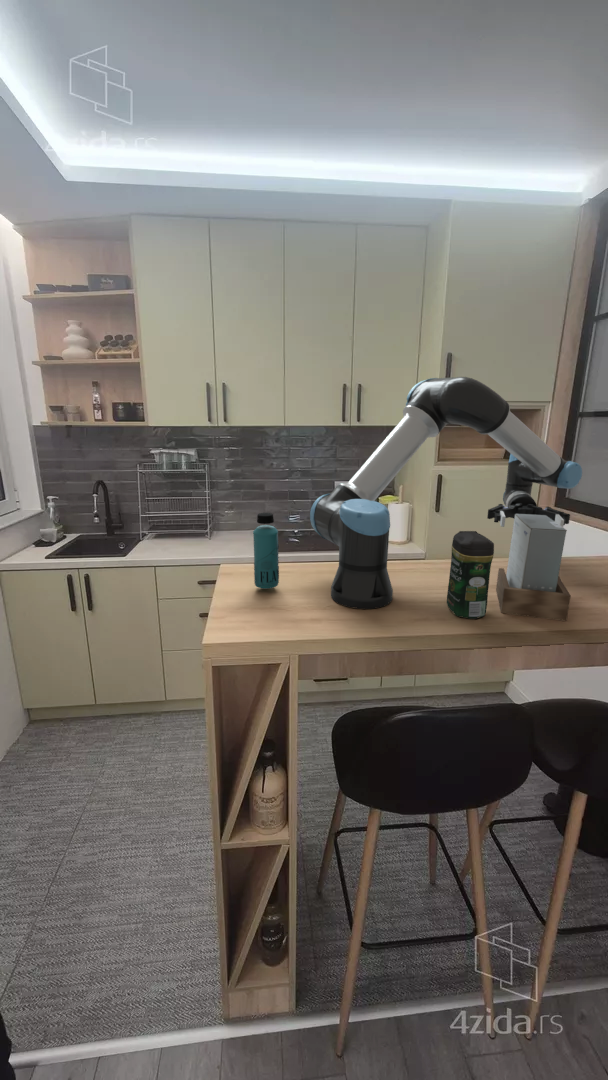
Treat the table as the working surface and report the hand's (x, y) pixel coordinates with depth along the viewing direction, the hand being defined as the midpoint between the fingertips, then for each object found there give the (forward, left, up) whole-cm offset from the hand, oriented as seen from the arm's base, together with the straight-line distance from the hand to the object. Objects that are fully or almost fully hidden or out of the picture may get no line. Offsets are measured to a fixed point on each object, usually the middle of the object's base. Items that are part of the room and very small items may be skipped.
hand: (532, 523), depth 117 cm
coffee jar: (-15, -22, -17) cm, 31 cm away
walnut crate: (0, -13, -17) cm, 21 cm away
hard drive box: (-1, -10, -17) cm, 20 cm away
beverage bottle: (-63, -24, -17) cm, 70 cm away
